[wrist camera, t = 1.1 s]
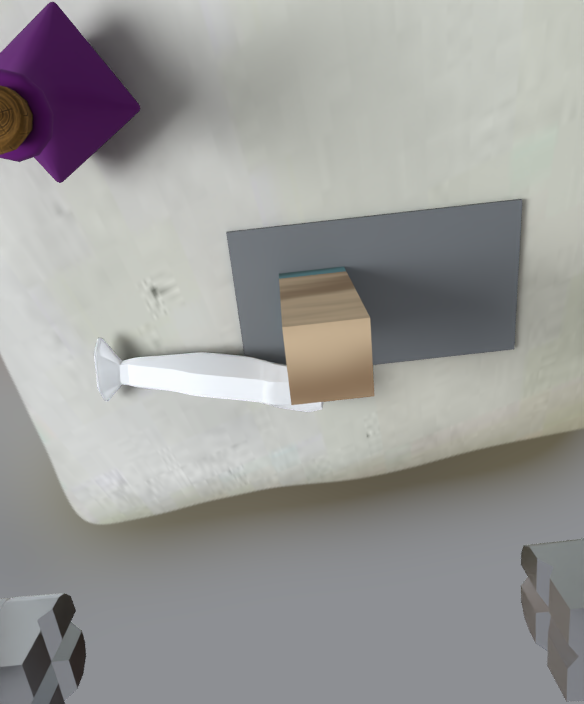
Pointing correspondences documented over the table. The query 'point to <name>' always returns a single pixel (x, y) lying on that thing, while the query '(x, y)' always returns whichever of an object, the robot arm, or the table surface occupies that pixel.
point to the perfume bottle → (57, 96)
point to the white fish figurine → (198, 376)
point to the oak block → (325, 336)
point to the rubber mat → (393, 278)
